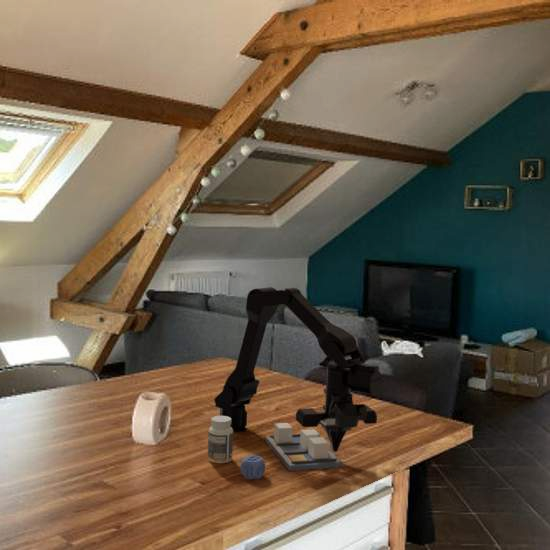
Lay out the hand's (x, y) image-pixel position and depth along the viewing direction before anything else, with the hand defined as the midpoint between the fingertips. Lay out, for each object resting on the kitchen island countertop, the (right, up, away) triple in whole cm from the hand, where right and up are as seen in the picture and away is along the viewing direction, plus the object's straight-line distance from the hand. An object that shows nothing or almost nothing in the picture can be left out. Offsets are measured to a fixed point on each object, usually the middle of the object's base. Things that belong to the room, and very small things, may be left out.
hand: (334, 451), depth 163 cm
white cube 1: (-4, -1, -1) cm, 4 cm away
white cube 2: (-6, 0, +4) cm, 7 cm away
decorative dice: (-19, -3, -12) cm, 23 cm away
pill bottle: (-27, -2, -3) cm, 27 cm away
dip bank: (-8, -1, +4) cm, 9 cm away
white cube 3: (-12, +1, +9) cm, 15 cm away
